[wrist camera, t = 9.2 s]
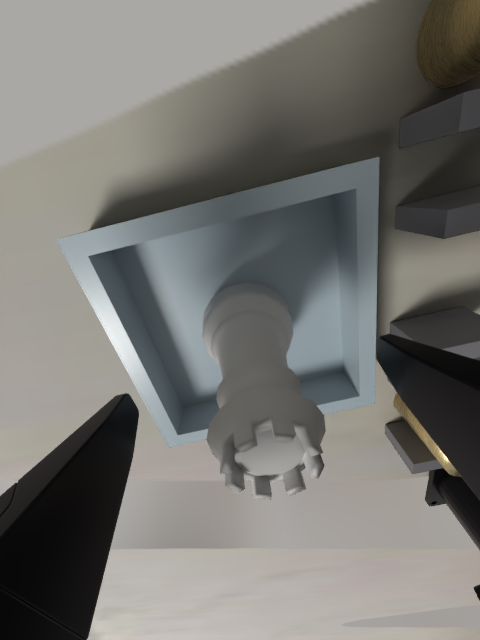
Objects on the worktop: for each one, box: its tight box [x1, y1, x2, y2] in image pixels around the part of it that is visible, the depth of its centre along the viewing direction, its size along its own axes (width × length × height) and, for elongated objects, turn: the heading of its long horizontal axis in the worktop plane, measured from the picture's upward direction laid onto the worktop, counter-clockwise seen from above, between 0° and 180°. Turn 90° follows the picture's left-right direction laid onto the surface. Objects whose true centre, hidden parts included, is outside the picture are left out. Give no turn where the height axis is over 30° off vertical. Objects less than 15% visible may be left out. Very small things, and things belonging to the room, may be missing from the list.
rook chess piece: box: [202, 282, 325, 500], centre depth 10 cm, size 4×4×8 cm
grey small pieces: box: [385, 88, 480, 474], centre depth 12 cm, size 24×4×3 cm, turn 13°
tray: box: [56, 157, 379, 448], centre depth 13 cm, size 12×12×2 cm
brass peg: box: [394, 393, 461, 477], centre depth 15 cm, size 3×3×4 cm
